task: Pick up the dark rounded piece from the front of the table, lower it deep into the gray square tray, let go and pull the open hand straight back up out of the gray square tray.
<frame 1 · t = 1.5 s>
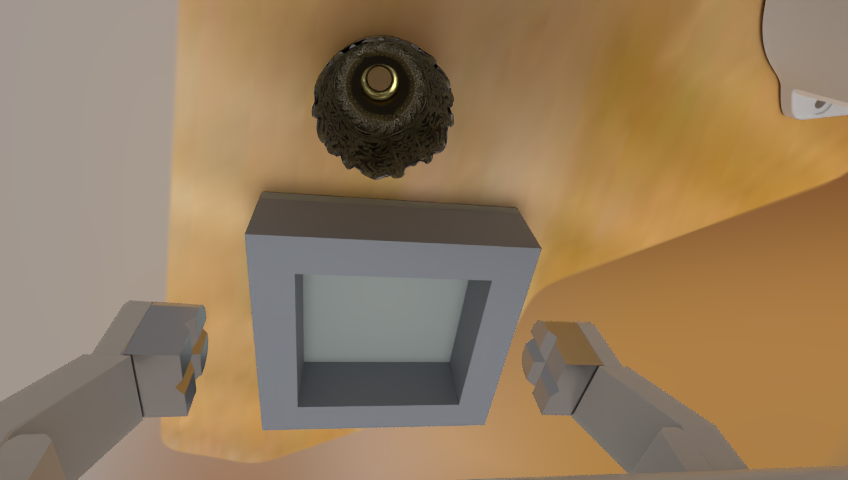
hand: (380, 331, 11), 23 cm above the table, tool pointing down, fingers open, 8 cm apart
dark rounded piece: (379, 78, 30), on the table
gray square tray: (384, 299, 40), on the table
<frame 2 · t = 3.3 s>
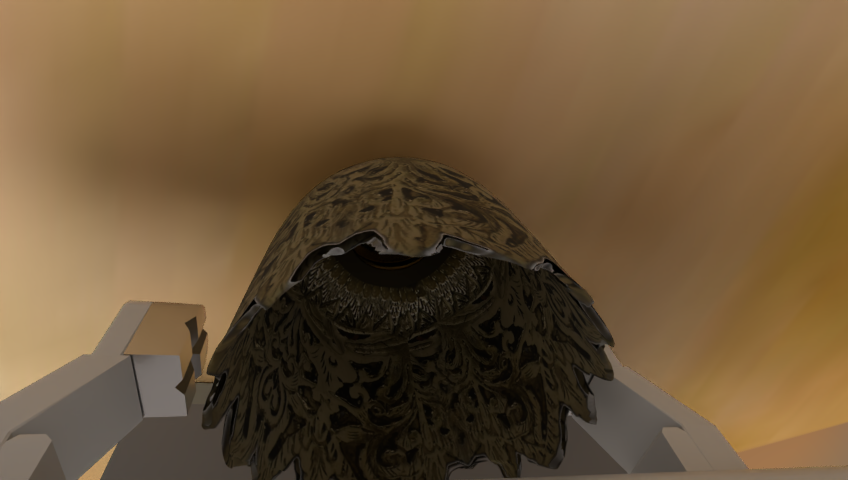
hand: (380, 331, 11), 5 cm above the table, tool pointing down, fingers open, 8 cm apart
dark rounded piece: (388, 204, 15), on the table
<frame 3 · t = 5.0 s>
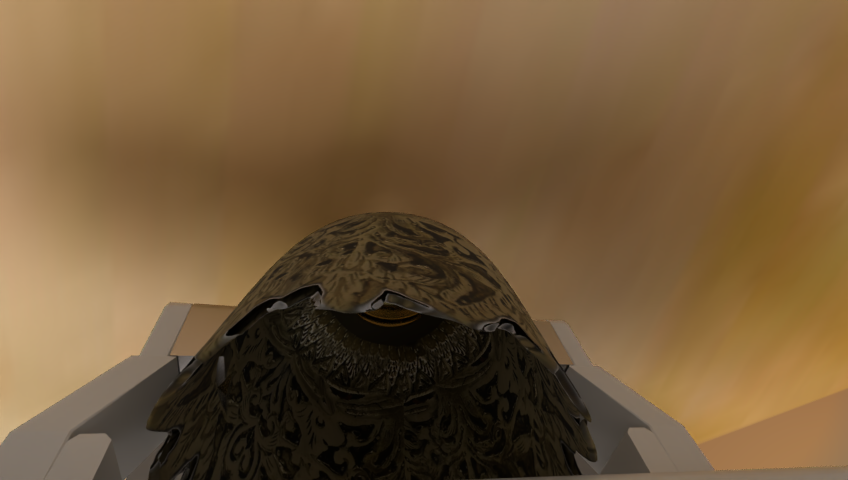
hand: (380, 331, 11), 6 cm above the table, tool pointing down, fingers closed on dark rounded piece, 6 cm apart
dark rounded piece: (392, 259, 15), point 2 cm above the table, touching gripper
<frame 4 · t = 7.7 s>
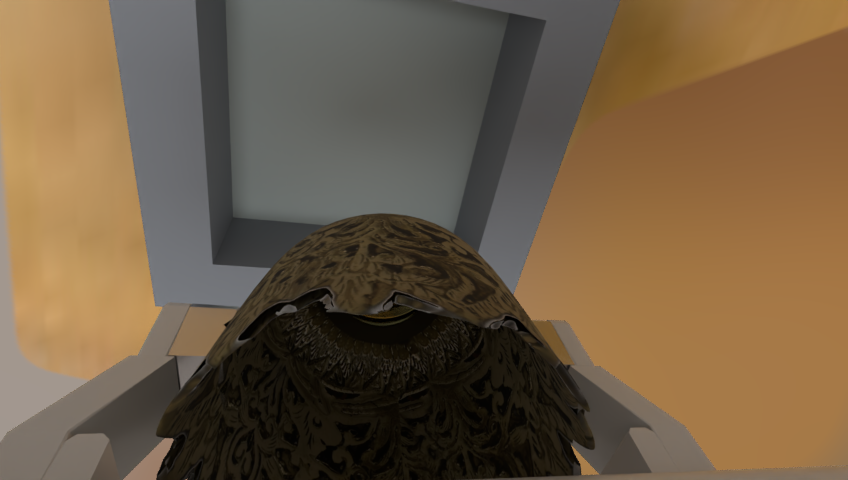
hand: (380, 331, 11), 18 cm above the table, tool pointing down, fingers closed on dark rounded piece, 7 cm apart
dark rounded piece: (382, 259, 15), point 14 cm above the table, touching gripper
gray square tray: (360, 115, 26), on the table
when the fingers open (6 cm above the table, at t = 10.4 s): dark rounded piece moves 1 cm, resting on gray square tray.
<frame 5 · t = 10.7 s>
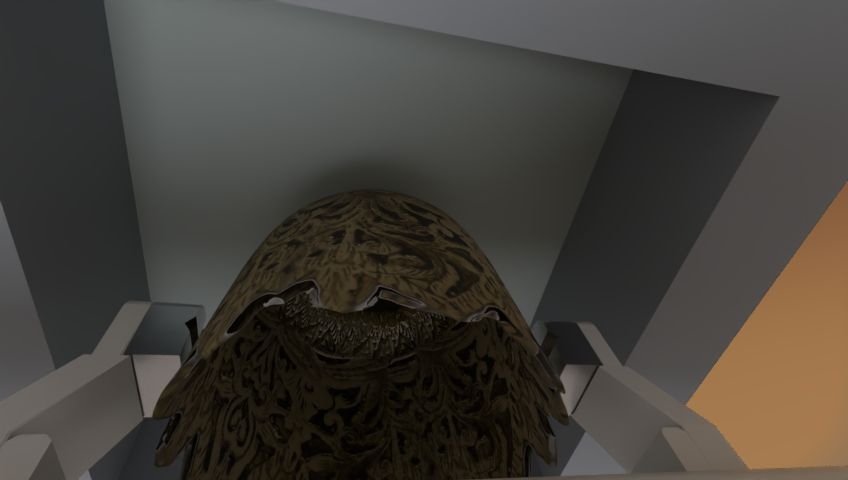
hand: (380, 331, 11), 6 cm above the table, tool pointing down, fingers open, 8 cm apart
dark rounded piece: (371, 227, 15), point 1 cm above the table, touching gray square tray
gray square tray: (369, 221, 16), on the table
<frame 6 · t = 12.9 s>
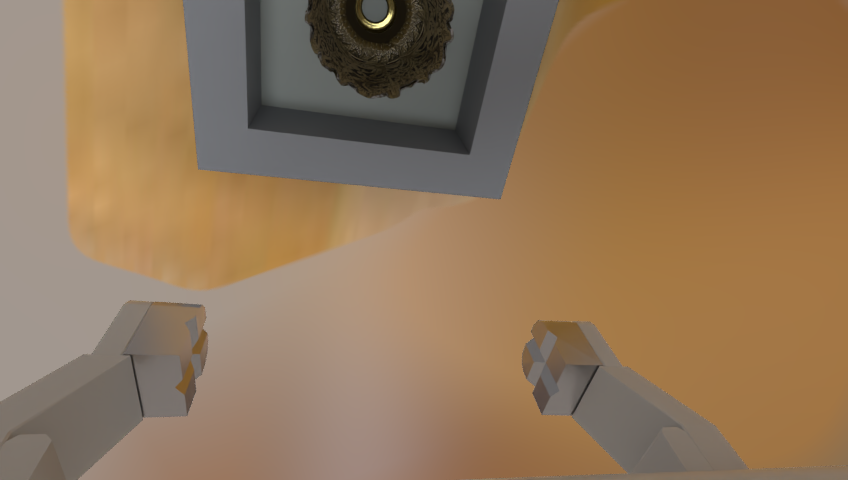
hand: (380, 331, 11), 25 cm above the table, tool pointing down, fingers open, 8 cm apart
dark rounded piece: (374, 7, 29), point 1 cm above the table, touching gray square tray
gray square tray: (373, 10, 30), on the table
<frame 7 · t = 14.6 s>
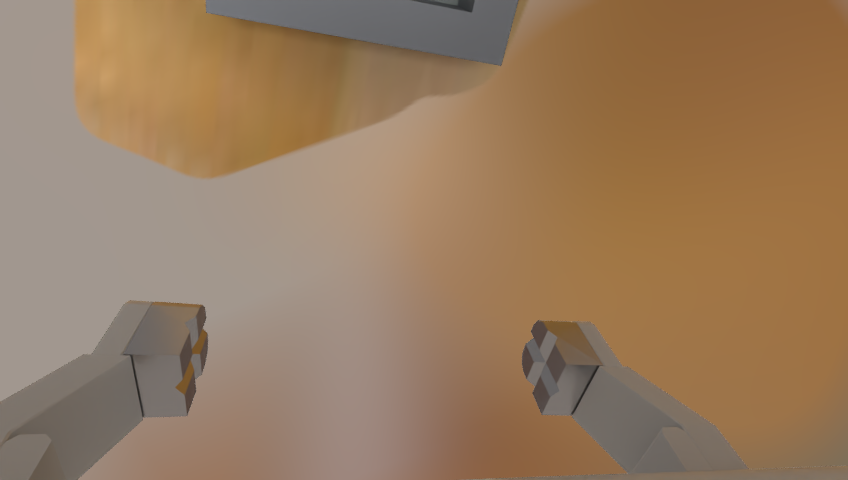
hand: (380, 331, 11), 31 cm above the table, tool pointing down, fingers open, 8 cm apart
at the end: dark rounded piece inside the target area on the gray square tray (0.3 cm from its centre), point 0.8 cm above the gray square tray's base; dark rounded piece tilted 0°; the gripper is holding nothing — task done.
